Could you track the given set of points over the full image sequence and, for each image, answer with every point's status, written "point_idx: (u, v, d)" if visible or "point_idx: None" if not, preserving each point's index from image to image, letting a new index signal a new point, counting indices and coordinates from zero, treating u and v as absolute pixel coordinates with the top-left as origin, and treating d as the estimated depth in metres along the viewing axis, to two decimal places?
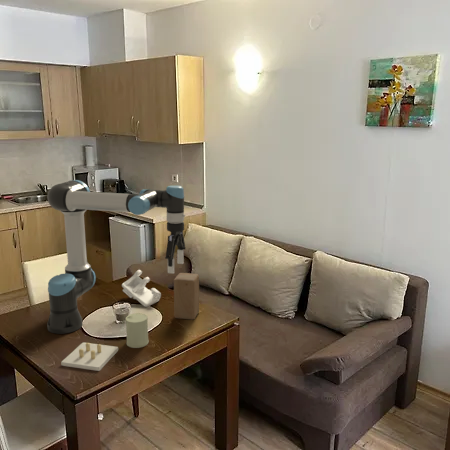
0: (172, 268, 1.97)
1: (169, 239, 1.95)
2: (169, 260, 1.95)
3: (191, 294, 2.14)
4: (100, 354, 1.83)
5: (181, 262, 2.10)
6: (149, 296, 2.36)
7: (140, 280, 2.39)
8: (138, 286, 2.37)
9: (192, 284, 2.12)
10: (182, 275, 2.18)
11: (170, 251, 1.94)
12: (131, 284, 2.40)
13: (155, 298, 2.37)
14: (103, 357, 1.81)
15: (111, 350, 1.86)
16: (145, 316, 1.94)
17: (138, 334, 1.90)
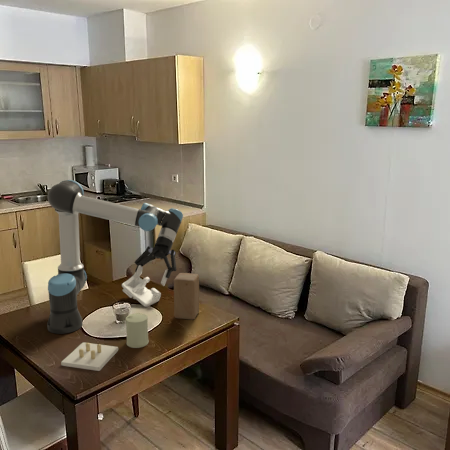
0: (165, 280, 1.98)
1: (173, 253, 2.03)
2: (170, 271, 1.99)
3: (191, 294, 2.14)
4: (100, 354, 1.83)
5: (137, 279, 2.02)
6: (149, 296, 2.36)
7: (140, 280, 2.39)
8: (138, 286, 2.37)
9: (192, 284, 2.13)
10: (182, 275, 2.18)
11: (175, 264, 2.01)
12: (131, 284, 2.40)
13: (155, 298, 2.37)
14: (103, 357, 1.81)
15: (111, 350, 1.86)
16: (145, 316, 1.94)
17: (138, 334, 1.90)
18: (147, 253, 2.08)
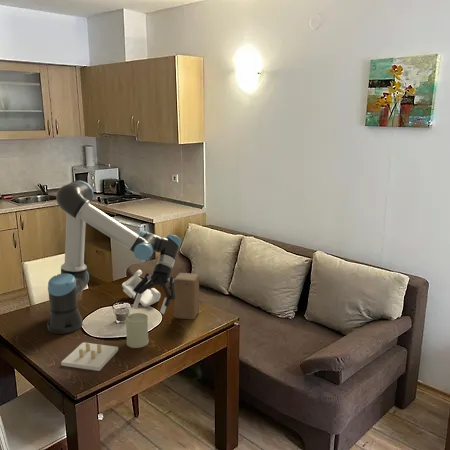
0: (165, 308, 1.98)
1: (172, 281, 2.03)
2: (169, 300, 1.99)
3: (191, 294, 2.14)
4: (100, 354, 1.83)
5: (136, 307, 2.02)
6: (149, 296, 2.36)
7: (140, 280, 2.39)
8: None
9: (192, 284, 2.13)
10: (182, 275, 2.18)
11: (174, 292, 2.01)
12: (131, 284, 2.41)
13: (155, 298, 2.37)
14: (103, 357, 1.81)
15: (111, 350, 1.86)
16: (145, 316, 1.94)
17: (138, 334, 1.90)
18: (146, 280, 2.07)
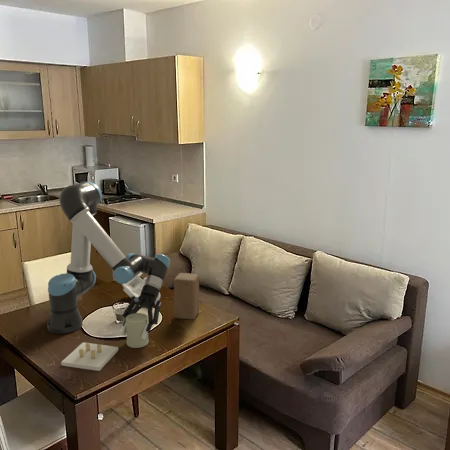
0: (146, 334, 1.91)
1: (159, 304, 1.96)
2: (151, 325, 1.92)
3: (191, 294, 2.14)
4: (100, 354, 1.83)
5: (125, 333, 1.94)
6: None
7: (140, 280, 2.39)
8: (138, 286, 2.37)
9: (192, 284, 2.12)
10: (182, 275, 2.18)
11: (157, 317, 1.94)
12: (132, 284, 2.41)
13: None
14: (103, 357, 1.81)
15: (111, 350, 1.86)
16: (145, 316, 1.94)
17: (138, 334, 1.90)
18: (133, 303, 2.00)
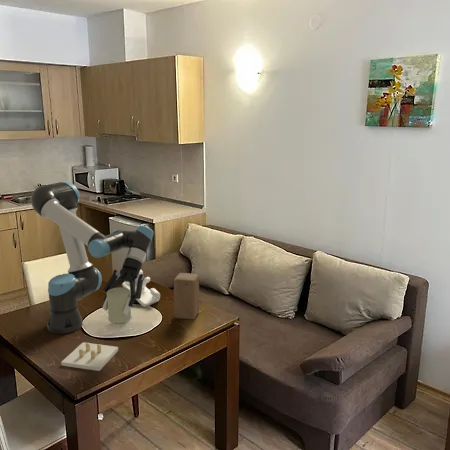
0: (128, 309, 1.82)
1: (141, 278, 1.86)
2: (133, 299, 1.83)
3: (191, 294, 2.14)
4: (100, 354, 1.83)
5: (106, 308, 1.85)
6: (149, 296, 2.36)
7: None
8: None
9: (192, 284, 2.12)
10: (182, 275, 2.18)
11: (140, 291, 1.85)
12: None
13: (154, 298, 2.37)
14: (103, 357, 1.81)
15: (111, 350, 1.86)
16: (127, 290, 1.85)
17: (120, 309, 1.81)
18: (115, 277, 1.90)
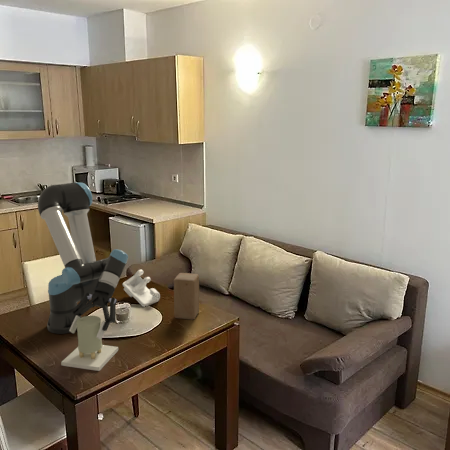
0: (102, 333, 1.78)
1: (114, 301, 1.83)
2: (108, 323, 1.78)
3: (191, 294, 2.14)
4: (100, 354, 1.83)
5: (73, 331, 1.81)
6: (148, 296, 2.36)
7: (141, 280, 2.39)
8: (138, 286, 2.37)
9: (192, 284, 2.13)
10: (182, 275, 2.18)
11: (114, 314, 1.81)
12: (132, 283, 2.42)
13: (154, 298, 2.37)
14: (103, 357, 1.81)
15: (111, 350, 1.86)
16: (98, 319, 1.81)
17: (90, 339, 1.77)
18: (86, 300, 1.87)
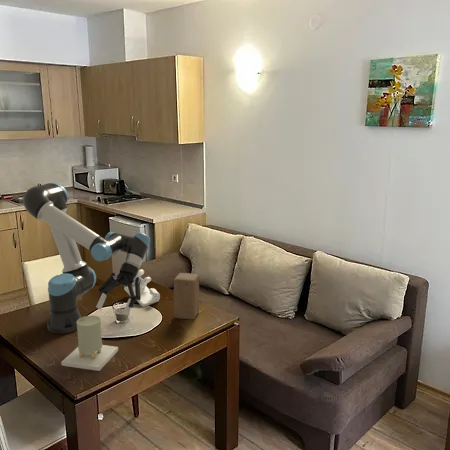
0: (129, 310, 1.91)
1: (138, 281, 1.96)
2: (134, 301, 1.91)
3: (191, 294, 2.14)
4: (100, 354, 1.83)
5: (100, 307, 1.95)
6: (148, 296, 2.36)
7: (141, 279, 2.40)
8: None
9: (192, 284, 2.12)
10: (182, 275, 2.18)
11: (139, 292, 1.94)
12: (133, 283, 2.42)
13: (154, 298, 2.37)
14: (103, 357, 1.81)
15: (111, 350, 1.86)
16: (98, 319, 1.81)
17: (90, 339, 1.77)
18: (111, 280, 2.00)
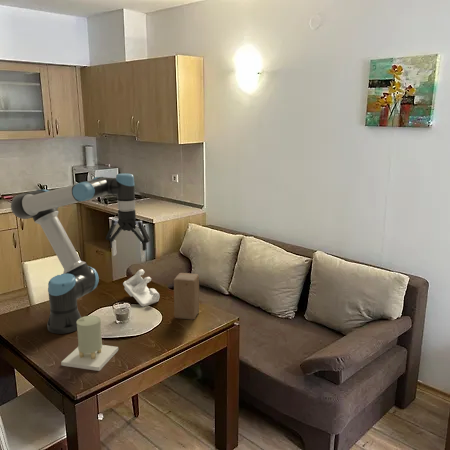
0: (144, 251, 2.04)
1: (141, 224, 2.00)
2: (145, 244, 2.02)
3: (191, 294, 2.14)
4: (100, 354, 1.83)
5: (115, 253, 2.07)
6: (148, 296, 2.36)
7: (141, 279, 2.40)
8: (138, 285, 2.38)
9: (192, 284, 2.12)
10: (182, 275, 2.18)
11: (147, 234, 2.01)
12: (133, 283, 2.42)
13: (154, 298, 2.36)
14: (103, 357, 1.81)
15: (111, 350, 1.86)
16: (98, 319, 1.81)
17: (90, 339, 1.77)
18: (114, 226, 2.03)
